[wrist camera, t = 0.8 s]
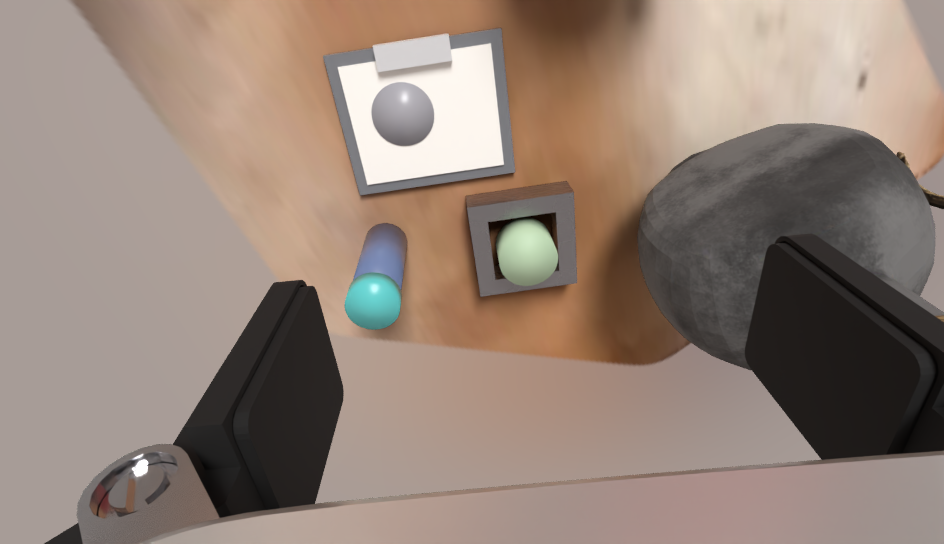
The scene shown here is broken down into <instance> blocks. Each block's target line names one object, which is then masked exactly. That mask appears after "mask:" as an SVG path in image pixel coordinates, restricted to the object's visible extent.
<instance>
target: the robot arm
mask: <svg viewBox="0 0 944 544" xmlns="http://www.w3.org/2000/svg"><path fill="white" fill-rule="evenodd" d="M745 358H746V361H747V364H748V365H749V367H750V368H751V370H752V371H753V372H754V374H755V375H756V376H757V377H758V379H759V380H760V381H761V382H762V384H763V385H764V386H765V388H766V389H767V390H768V391H769V393H770V394H771V395H772V397H773V398H774V399H775V400H776V402H777V403H778V404H779V406H780V407H781V408H782V409H783V411H784V412H785V413H786V414H787V416H788V417H789V418H790V419H791V421H792V422H793V423H794V425H795V426H796V427H797V429H798V430H799V431H800V432H801V434H802V435H803V436H804V438H805V439H806V440H807V441H808V443H809V444H810V445H811V447H812V448H813V449H814V450H815V452H816V453H817V454H818V455H819V457H820V458H821V459H822V460H814V461H800V462H787V463H775V464H763V465H749V466H738V467H724V468H712V469H701V470H688V471H676V472H664V473H652V474H639V475H628V476H616V477H604V478H592V479H581V480H569V481H558V482H545V483H533V484H522V485H511V486H500V487H490V488H478V489H467V490H455V491H444V492H433V493H422V494H411V495H399V496H389V497H378V498H368V499H359V500H347V501H337V502H326V503H318V504H315V501H316V498H317V494H318V490H319V486H320V483H321V479H322V476H323V472H324V468H325V465H326V461H327V457H328V453H329V450H330V446H331V443H332V438H333V435H334V432H335V428H336V424H337V421H338V417H339V413H340V410H341V406H342V402H343V385H342V381H341V377H340V373H339V370H338V366H337V363H336V359H335V356H334V352H333V348H332V345H331V342H330V338H329V334H328V330H327V327H326V323H325V320H324V316H323V313H322V309H321V305H320V302H319V298H318V295H317V292H316V289H315V287H313V286H307V285H306V283H305V282H304V281H303V280H296V281H285V282H276V283H273V285H272V286H271V287H270V289H269V291H268V292H267V294H266V296H265V297H264V299H263V300H262V302H261V304H260V305H259V307H258V308H257V310H256V312H255V313H254V315H253V317H252V318H251V320H250V321H249V323H248V325H247V326H246V328H245V329H244V331H243V333H242V334H241V336H240V337H239V339H238V341H237V342H236V344H235V345H234V347H233V349H232V350H231V352H230V354H229V355H228V356H227V358H226V360H225V361H224V363H223V364H222V366H221V368H220V369H219V371H218V373H217V374H216V376H215V378H214V379H213V381H212V382H211V384H210V386H209V387H208V389H207V390H206V392H205V393H204V395H203V397H202V399H201V400H200V402H199V403H198V405H197V406H196V408H195V410H194V411H193V413H192V414H191V416H190V418H189V419H188V421H187V423H186V424H185V426H184V427H183V429H182V430H181V432H180V434H179V435H178V437H177V439H176V440H175V442H174V443H173V445H172V444H157V445H152V446H148V447H144V448H141V449H138V450H136V451H134V452H131V453H129V454H127V455H125V456H123V457H121V458H120V459H118V460H116V461H115V462H113V463H112V464H110V465H109V466H108V467H106V468H105V469H104V470H103V471H102V472H101V473H99V474H98V475H97V476H96V477H95V478H94V479H93V480H92V481H91V483H90V484H89V485H88V486H87V488H85V490H84V491H83V493H82V495H81V498H80V500H79V502H78V505H77V518H78V523H77V524H76V525H74V526H73V527H71V528H69V529H67V530H66V531H64V532H63V533H61V534H60V535H58V536H56V537H54V538H53V539H51V540H50V541H48V542H46V543H45V544H944V322H943V321H941V320H940V319H938V318H937V317H935V316H934V315H933V314H931V313H930V312H928V311H927V310H925V309H924V308H922V307H921V306H919V305H918V304H916V303H915V302H913V301H912V300H910V299H909V298H907V297H906V296H905V295H903V294H902V293H900V292H899V291H897V290H896V289H894V288H893V287H891V286H890V285H888V284H887V283H885V282H884V281H882V280H881V279H880V278H878V277H877V276H875V275H874V274H872V273H871V272H869V271H868V270H866V269H865V268H863V267H862V266H860V265H859V264H857V263H856V262H855V261H853V260H852V259H850V258H849V257H847V256H846V255H844V254H843V253H841V252H840V251H838V250H837V249H835V248H834V247H832V246H831V245H830V244H828V243H827V242H825V241H824V240H822V239H821V238H819V237H818V236H816V235H814V234H812V233H811V234H799V235H788V236H781V237H779V238H777V240H776V241H775V243H774V244H771V245H769V247H768V248H767V251H766V255H765V259H764V264H763V268H762V273H761V277H760V282H759V286H758V291H757V296H756V300H755V305H754V309H753V314H752V318H751V323H750V327H749V332H748V337H747V341H746V346H745Z"/></svg>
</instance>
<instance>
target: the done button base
mask: <svg viewBox="0 0 944 544" xmlns="http://www.w3.org/2000/svg"><path fill="white" fill-rule="evenodd" d="M466 203H467V211H468V218H469V224H470V231H471V237H472V244H473V250H474V257H475V263H476V270H477V276H478V283H479V289H480V296H481V297H482V296H489V295H496V294H503V293H511V292H518V291H525V290H532V289H539V288H546V287H553V286H560V285H567V284H574V283H577V267H576V240H575V213H574V192H573V190H572V189H571V187H570V185H569V184H568V182H567V181H563V182H557V183H550V184H543V185H536V186H529V187H523V188H516V189H509V190H502V191H496V192H489V193H482V194H475V195H468V196H466ZM547 213H551V221H552V238H553V242H554V245H555V247H556V250H557V253H558V263H557V267H556V269H555V271H554V272H553V273H552V275H551V276H550V277H549V278H548V279H546V280H545V281H543V282H541V283H539V284H536V285H532V286H521V285H517V284H514V283H512V282H510V281H509V280H508V279H507V278H506V277H505V276H504V275H503V273H502V272H501V269H500V265H493V257H492V250H491V242H490V235H489V227H488V222H492V221H499V220H506V219H513V218H520V217H526V216H533V215H540V214H547Z"/></svg>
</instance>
